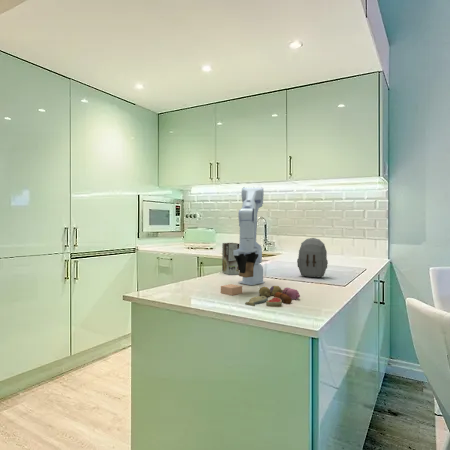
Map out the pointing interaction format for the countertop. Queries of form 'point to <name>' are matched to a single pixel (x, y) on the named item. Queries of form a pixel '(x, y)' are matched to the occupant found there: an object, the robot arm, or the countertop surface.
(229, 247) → the coffee box
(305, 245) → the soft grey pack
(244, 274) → the walnut block
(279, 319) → the countertop surface
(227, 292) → the base block
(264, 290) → the toy food set
